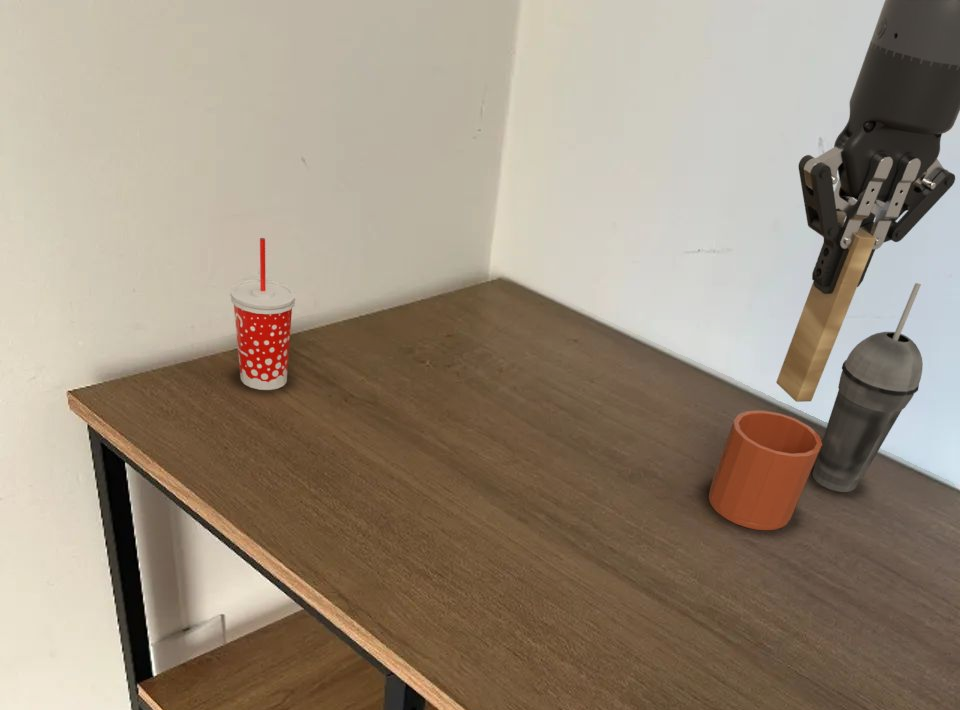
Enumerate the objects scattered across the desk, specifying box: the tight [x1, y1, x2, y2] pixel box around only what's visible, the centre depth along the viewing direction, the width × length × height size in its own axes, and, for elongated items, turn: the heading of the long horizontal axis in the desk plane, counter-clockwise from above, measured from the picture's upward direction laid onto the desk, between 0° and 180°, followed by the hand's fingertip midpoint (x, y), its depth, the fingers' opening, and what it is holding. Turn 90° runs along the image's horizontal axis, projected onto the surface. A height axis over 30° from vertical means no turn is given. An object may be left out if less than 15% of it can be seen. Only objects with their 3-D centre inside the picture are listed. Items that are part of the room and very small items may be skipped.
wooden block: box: [775, 223, 876, 403], centre depth 80 cm, size 2×4×14 cm, turn 17°
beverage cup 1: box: [229, 237, 296, 391], centre depth 93 cm, size 6×6×14 cm
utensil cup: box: [708, 410, 822, 531], centre depth 90 cm, size 8×8×8 cm
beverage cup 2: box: [811, 282, 924, 493], centre depth 92 cm, size 7×7×20 cm
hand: (832, 289), depth 78 cm, fingers closed on wooden block, 1 cm apart
